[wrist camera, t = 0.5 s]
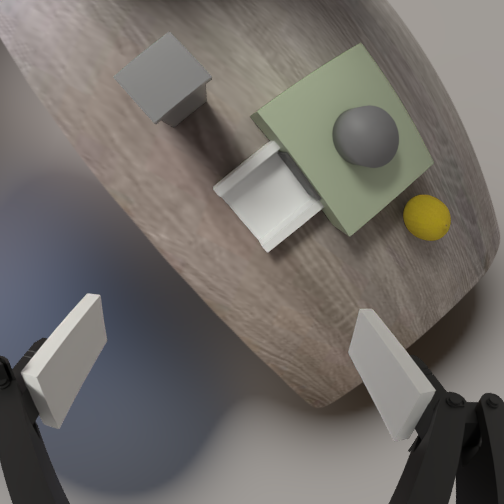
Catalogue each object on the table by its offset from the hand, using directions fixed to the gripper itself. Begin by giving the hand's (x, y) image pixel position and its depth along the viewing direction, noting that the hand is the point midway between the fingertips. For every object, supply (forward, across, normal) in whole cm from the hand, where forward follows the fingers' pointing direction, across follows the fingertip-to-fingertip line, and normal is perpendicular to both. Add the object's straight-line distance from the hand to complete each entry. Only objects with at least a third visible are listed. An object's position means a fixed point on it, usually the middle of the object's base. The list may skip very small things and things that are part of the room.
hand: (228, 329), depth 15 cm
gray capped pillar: (+21, -7, +14) cm, 26 cm away
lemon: (+24, +23, +4) cm, 33 cm away
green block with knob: (+22, +9, +9) cm, 25 cm away
